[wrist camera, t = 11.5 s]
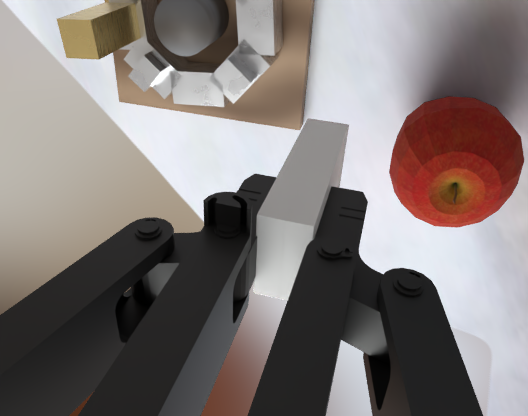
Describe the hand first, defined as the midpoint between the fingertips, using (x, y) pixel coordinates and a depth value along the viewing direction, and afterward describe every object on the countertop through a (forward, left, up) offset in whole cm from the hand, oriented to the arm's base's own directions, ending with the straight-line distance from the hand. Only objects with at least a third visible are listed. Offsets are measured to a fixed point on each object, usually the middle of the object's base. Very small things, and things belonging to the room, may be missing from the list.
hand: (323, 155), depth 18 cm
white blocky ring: (+2, -16, -28) cm, 32 cm away
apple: (+10, +8, -30) cm, 32 cm away
